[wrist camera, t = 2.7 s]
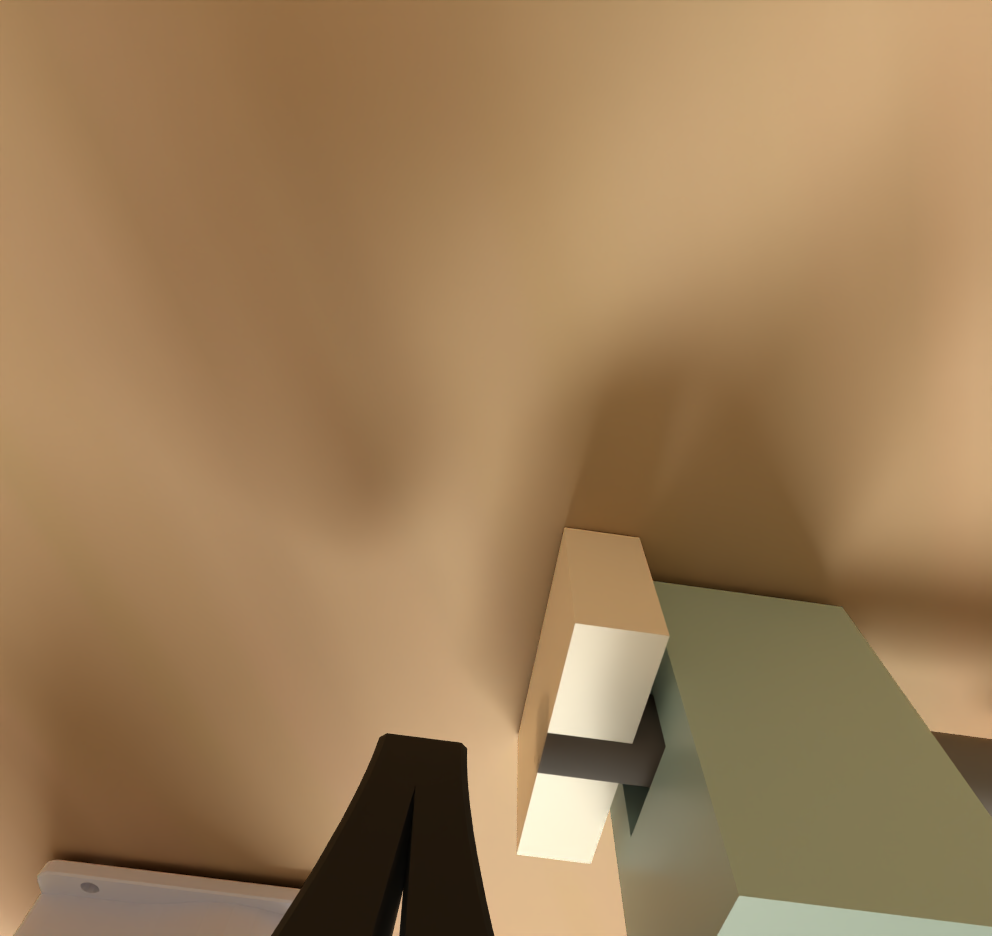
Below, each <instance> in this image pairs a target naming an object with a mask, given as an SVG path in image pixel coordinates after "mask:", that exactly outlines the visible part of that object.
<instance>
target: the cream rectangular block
mask: <svg viewBox="0 0 992 936" xmlns="http://www.w3.org/2000/svg"><path fill="white" fill-rule="evenodd" d="M669 637H670V635H669V632H668V629H667V626H666V622H665V619H664V616H663V613H662V609H661V606H660V603H659V599H658V596H657V593H656V590H655V586H654V583H653V580H652V577H651V573H650V570H649V567H648V564H647V560H646V557H645V554H644V550H643V547H642V544H641V541H640V538H638V537H631V536H624V535H616V534H609V533H602V532H595V531H588V530H581V529H573V528H566V527H564V532H563V536H562V541H561V545H560V550H559V554H558V559H557V563H556V567H555V572H554V576H553V581H552V585H551V590H550V594H549V599H548V603H547V608H546V612H545V617H544V621H543V626H542V630H541V635H540V639H539V644H538V648H537V653H536V657H535V662H534V666H533V671H532V675H531V680H530V684H529V689H528V693H527V698H526V702H525V707H524V711H523V716H522V720H521V725H520V729H519V734H518V763H517V855H524V856H532V857H540V858H548V859H556V860H564V861H572V862H581V863H589V864H591V862H592V859H593V856H594V853H595V850H596V847H597V844H598V841H599V839H600V836H601V833H602V830H603V827H604V824H605V821H606V818H607V815H608V813H609V810H610V807H611V804H612V801H613V798H614V795H615V792H616V789H617V787H618V784H619V783H612V782H605V781H597V780H589V779H581V778H573V777H565V776H558V775H550V774H542V773H537V771H538V768H539V766H538V765H539V764H540V760H541V756H542V754H541V753H543V752H542V751H543V749H544V745H545V744H544V743H545V741H546V737H547V733H554V734H561V735H569V736H577V737H584V738H592V739H600V740H608V741H615V742H623V743H631V744H632V743H633V740H634V738H635V735H636V732H637V729H638V726H639V723H640V720H641V717H642V714H643V712H644V709H645V706H646V703H647V700H648V697H649V694H650V691H651V689H652V686H653V683H654V680H655V677H656V674H657V671H658V668H659V665H660V663H661V660H662V657H663V654H664V651H665V648H666V645H667V642H668V639H669ZM534 756H535V758H534ZM538 761H539V762H538ZM538 763H539V764H538Z"/></svg>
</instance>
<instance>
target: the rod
mask: <svg viewBox="0 0 992 936" xmlns="http://www.w3.org/2000/svg"><path fill="white" fill-rule="evenodd" d="M931 733H932V734H933V735H934V737H935V738H936V740H937V741H938V742H939V744H940V745H941V747H942V748H943V749H944V751H945V752H946V754H947V755H948V756H949V758H950V759H951V761H952V762H953V764H954V765H955V766H956V768H957V769H958V771H959V772H960V773H961V775H962V776H963V778H964V779H965V780H966V782H967V783H968V785H969V786H970V788H971V789H972V790H973V792H974V793H975V795H976V796H977V797H978V799H979V800H980V802H981V803H982V804H983V806H984V807H985V809H986V810H987V811H988V813H989V814H990V816H991V817H992V739H985V738H978V737H970V736H963V735H955V734H948V733H940V732H932V731H931ZM544 744H545V745H544V749H543V751H542V752H543V753H541V754H542V756H541V760H540V764H539V763H538V764H539V765H538V766H539V768H538V771H537V773H542V774H550V775H558V776H565V777H573V778H581V779H589V780H597V781H605V782H612V783H620V784H628V785H636V786H644V787H650V786H651V784H652V781H653V779H654V776H655V773H656V771H657V768H658V766H659V763H660V760H661V758H662V755H663V752H664V750H665V747H666V745H665V741H664V737H663V733H662V729H661V725H660V721H659V716H658V712H657V708H656V704H655V700H654V696H653V695H652V694H649V697H648V700H647V703H646V706H645V709H644V712H643V714H642V717H641V720H640V723H639V726H638V729H637V732H636V735H635V738H634V740H633V743H632V744H631V743H623V742H615V741H608V740H600V739H592V738H584V737H577V736H569V735H561V734H554V733H547V737H546V741H545V743H544ZM534 758H535V756H534ZM538 762H539V761H538Z"/></svg>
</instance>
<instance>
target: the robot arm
mask: <svg viewBox="0 0 992 936" xmlns="http://www.w3.org/2000/svg"><path fill="white" fill-rule="evenodd" d="M37 881H38V884H39V887H40V890H41V893H42V894H40V895H39V897H38V898H37V900H36V902H35V903H34V905H33V906H32V908H31V909H30V911H29V912H28V914H27V915H26V917H25V918H24V920H23V921H22V923H21V924H20V926H19V927H18V929H17V931H16V932H15V934H14V935H13V936H392V934H393V930H394V926H395V921H396V917H397V913H398V909H399V905H400V900H401V896H402V892H403V899H402V911H401V923H400V935H399V936H494V933H493V929H492V924H491V920H490V915H489V911H488V906H487V902H486V897H485V892H484V887H483V882H482V877H481V871H480V866H479V861H478V856H477V850H476V844H475V838H474V832H473V825H472V817H471V810H470V801H469V791H468V778H467V748H466V747H465V746H464V745H463V744H462V743H459V742H451V741H443V740H435V739H427V738H419V737H412V736H404V735H396V734H388V733H387V734H385V735H383V736H381V737H379V740H378V743H377V746H376V748H375V751H374V754H373V756H372V758H371V761H370V763H369V765H368V768H367V770H366V772H365V774H364V777H363V779H362V781H361V783H360V785H359V787H358V789H357V791H356V793H355V795H354V797H353V799H352V801H351V803H350V805H349V806H348V808H347V810H346V812H345V814H344V816H343V818H342V820H341V822H340V823H339V825H338V827H337V829H336V830H335V832H334V834H333V836H332V837H331V839H330V841H329V843H328V844H327V846H326V848H325V849H324V851H323V853H322V855H321V856H320V858H319V860H318V862H317V863H316V865H315V867H314V869H313V870H312V872H311V874H310V875H309V877H308V878H307V880H306V882H305V883H304V885H303V886H302V888H301V889H298V888H289V887H281V886H273V885H265V884H256V883H248V882H240V881H232V880H223V879H215V878H207V877H199V876H191V875H182V874H174V873H166V872H158V871H149V870H141V869H133V868H125V867H116V866H108V865H100V864H92V863H84V862H75V861H67V860H52V861H49V862H47V863H46V864H45V865H44V867H43V868H42V869H41V871H40V872H39V874H38V875H37Z"/></svg>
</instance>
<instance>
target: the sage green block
mask: <svg viewBox="0 0 992 936" xmlns="http://www.w3.org/2000/svg"><path fill="white" fill-rule="evenodd" d="M653 583H654V586H655V590H656V593H657V596H658V599H659V603H660V606H661V609H662V613H663V616H664V619H665V622H666V626H667V629H668V632H669V635H670V637H669V639H668V642H667V645H666V648H665V651H664V654H663V657H662V660H661V663H660V665H659V668H658V671H657V674H656V677H655V680H654V683H653V686H652V689H651V691H650V694H652V695H653V696H654V700H655V704H656V708H657V712H658V716H659V721H660V725H661V729H662V733H663V737H664V741H665V745H666V747H665V750H664V752H663V755H662V758H661V760H660V763H659V766H658V768H657V771H656V773H655V776H654V779H653V781H652V784H651V786H650V787H644V786H636V785H628V784H620V783H619V784H618V787H617V789H616V792H615V795H614V798H613V801H612V804H611V807H610V812H611V819H612V827H613V834H614V842H615V849H616V857H617V864H618V872H619V879H620V887H621V894H622V902H623V909H624V917H625V924H626V932H627V936H992V817H991V816H990V814H989V813H988V811H987V810H986V809H985V807H984V806H983V804H982V803H981V802H980V800H979V799H978V797H977V796H976V795H975V793H974V792H973V790H972V789H971V788H970V786H969V785H968V783H967V782H966V780H965V779H964V778H963V776H962V775H961V773H960V772H959V771H958V769H957V768H956V766H955V765H954V764H953V762H952V761H951V759H950V758H949V756H948V755H947V754H946V752H945V751H944V749H943V748H942V747H941V745H940V744H939V742H938V741H937V740H936V738H935V737H934V735H933V734H932V733H931V731H930V730H929V728H928V727H927V725H926V724H925V723H924V721H923V720H922V718H921V717H920V716H919V714H918V713H917V711H916V710H915V709H914V707H913V706H912V704H911V703H910V702H909V700H908V699H907V697H906V696H905V694H904V693H903V692H902V690H901V689H900V687H899V686H898V685H897V683H896V682H895V680H894V679H893V678H892V676H891V675H890V673H889V672H888V671H887V669H886V668H885V666H884V665H883V663H882V662H881V661H880V659H879V658H878V656H877V655H876V654H875V652H874V651H873V649H872V648H871V647H870V645H869V644H868V642H867V641H866V639H865V638H864V637H863V635H862V634H861V632H860V631H859V630H858V628H857V627H856V625H855V624H854V623H853V621H852V620H851V618H850V617H849V616H848V614H847V613H846V611H845V610H844V608H843V607H840V606H832V605H825V604H818V603H810V602H803V601H796V600H789V599H781V598H774V597H767V596H759V595H752V594H745V593H738V592H730V591H723V590H716V589H708V588H701V587H694V586H687V585H679V584H672V583H665V582H657V581H653Z"/></svg>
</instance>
